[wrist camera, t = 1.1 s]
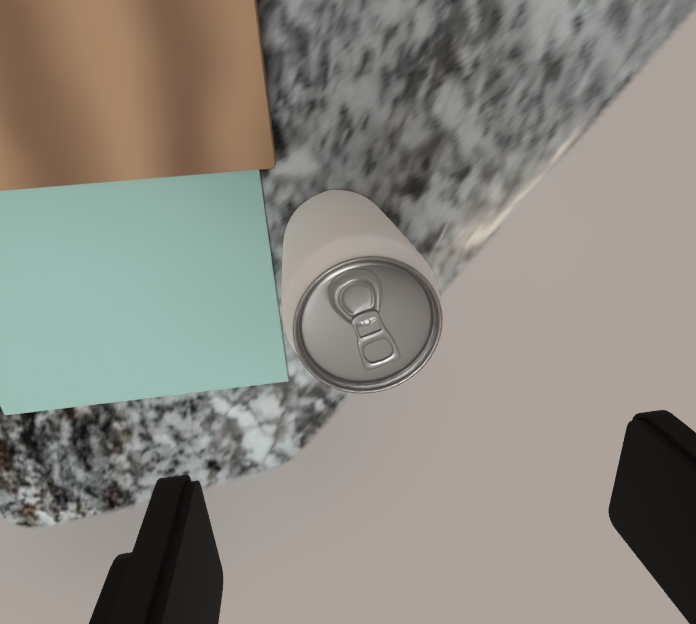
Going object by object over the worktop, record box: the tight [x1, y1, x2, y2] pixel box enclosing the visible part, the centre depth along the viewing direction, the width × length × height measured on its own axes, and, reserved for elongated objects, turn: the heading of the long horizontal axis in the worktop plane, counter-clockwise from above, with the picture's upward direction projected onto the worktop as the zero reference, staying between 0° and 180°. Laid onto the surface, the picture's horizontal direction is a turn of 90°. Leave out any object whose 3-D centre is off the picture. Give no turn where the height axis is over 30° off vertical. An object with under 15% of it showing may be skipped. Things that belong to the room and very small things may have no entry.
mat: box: [0, 170, 288, 415], centre depth 28 cm, size 18×14×1 cm
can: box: [282, 190, 442, 393], centre depth 23 cm, size 6×6×12 cm
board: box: [0, 0, 277, 191], centre depth 21 cm, size 20×12×4 cm, turn 93°
